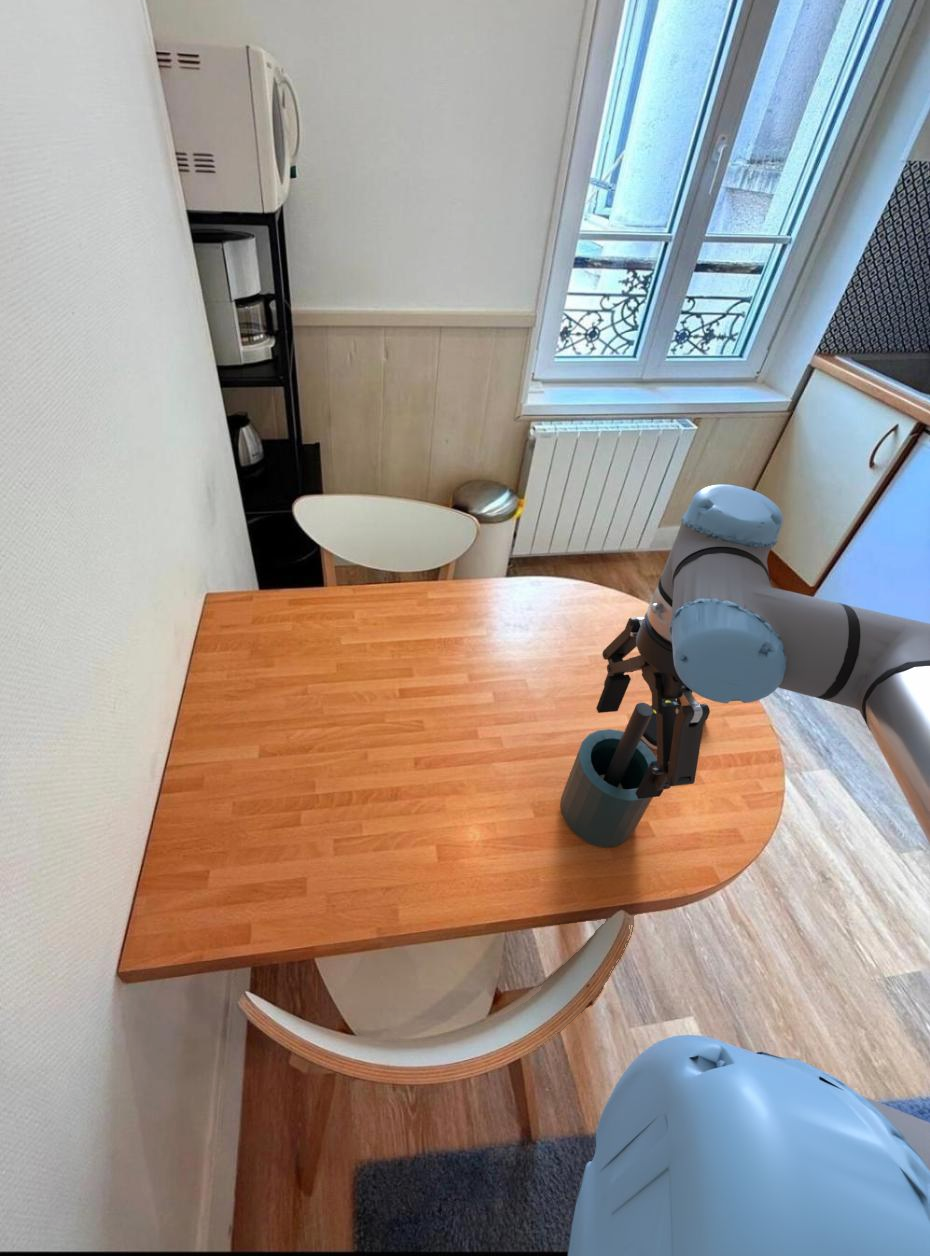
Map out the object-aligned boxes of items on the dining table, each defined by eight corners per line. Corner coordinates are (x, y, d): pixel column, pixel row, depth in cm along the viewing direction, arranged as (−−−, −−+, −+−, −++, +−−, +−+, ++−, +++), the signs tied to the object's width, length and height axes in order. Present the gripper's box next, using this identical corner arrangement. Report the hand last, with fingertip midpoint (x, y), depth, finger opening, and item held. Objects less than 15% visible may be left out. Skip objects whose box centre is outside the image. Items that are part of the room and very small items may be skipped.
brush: (618, 819, 83) (668, 721, 70) (591, 822, 83) (635, 725, 69) (607, 792, 86) (652, 693, 73) (580, 795, 86) (621, 696, 72)
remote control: (624, 724, 97) (627, 716, 96) (678, 694, 102) (682, 686, 101) (654, 754, 93) (657, 746, 92) (709, 721, 98) (713, 713, 97)
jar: (647, 843, 82) (675, 795, 75) (575, 852, 81) (597, 805, 73) (616, 774, 90) (639, 725, 82) (550, 782, 88) (567, 732, 81)
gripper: (603, 555, 71) (564, 677, 84) (710, 727, 53) (639, 848, 66) (663, 551, 72) (615, 673, 85) (788, 719, 54) (702, 839, 67)
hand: (625, 749), depth 76 cm, fingers open, 11 cm apart
